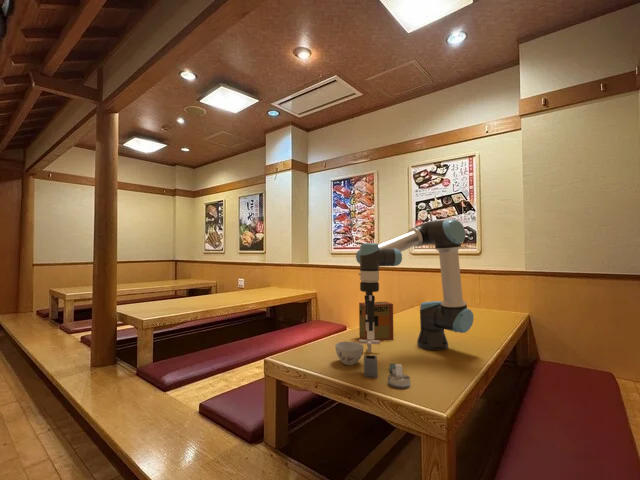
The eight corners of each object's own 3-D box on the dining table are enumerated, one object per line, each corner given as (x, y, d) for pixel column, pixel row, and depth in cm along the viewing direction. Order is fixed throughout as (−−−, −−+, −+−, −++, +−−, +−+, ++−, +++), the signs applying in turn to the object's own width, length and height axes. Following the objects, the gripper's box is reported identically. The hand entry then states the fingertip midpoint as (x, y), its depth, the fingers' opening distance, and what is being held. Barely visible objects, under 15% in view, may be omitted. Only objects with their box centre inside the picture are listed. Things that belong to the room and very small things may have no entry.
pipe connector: (379, 356, 150) (379, 334, 151) (358, 355, 152) (358, 333, 153) (380, 349, 160) (379, 329, 160) (360, 348, 162) (359, 328, 162)
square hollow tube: (376, 372, 130) (376, 355, 130) (377, 377, 125) (377, 359, 125) (364, 372, 130) (363, 355, 130) (364, 377, 125) (364, 359, 126)
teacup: (354, 370, 132) (354, 351, 133) (329, 364, 140) (329, 346, 140) (371, 360, 145) (371, 342, 145) (347, 355, 152) (347, 338, 152)
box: (365, 342, 174) (365, 305, 175) (359, 337, 183) (359, 302, 184) (393, 339, 178) (392, 303, 179) (386, 335, 187) (386, 301, 188)
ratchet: (403, 369, 133) (403, 352, 134) (411, 389, 114) (411, 369, 114) (384, 368, 134) (383, 351, 135) (389, 388, 115) (388, 368, 115)
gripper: (359, 278, 142) (359, 327, 141) (360, 284, 117) (361, 342, 116) (376, 279, 141) (377, 327, 140) (381, 284, 116) (382, 343, 115)
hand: (369, 334), depth 128 cm, fingers open, 13 cm apart
